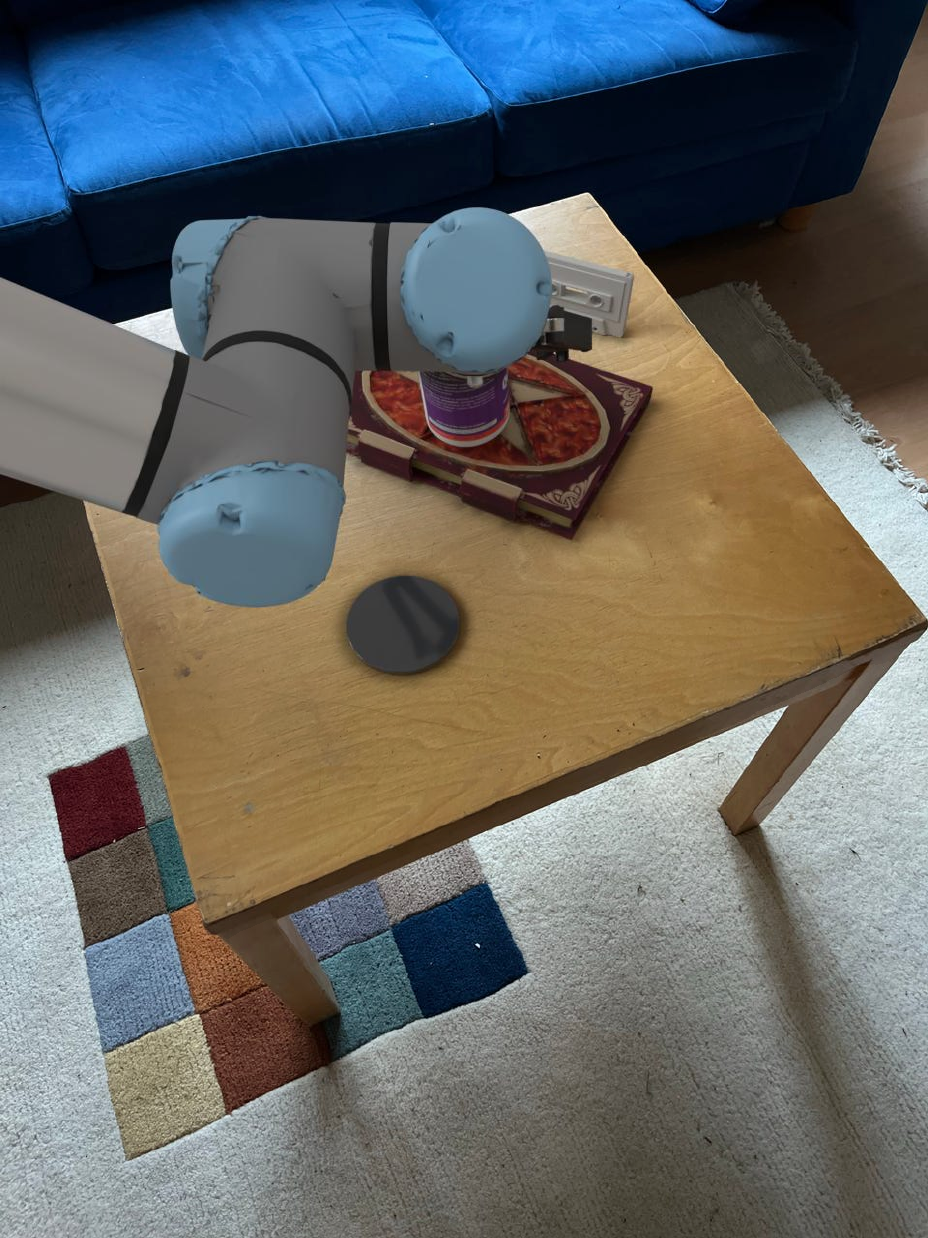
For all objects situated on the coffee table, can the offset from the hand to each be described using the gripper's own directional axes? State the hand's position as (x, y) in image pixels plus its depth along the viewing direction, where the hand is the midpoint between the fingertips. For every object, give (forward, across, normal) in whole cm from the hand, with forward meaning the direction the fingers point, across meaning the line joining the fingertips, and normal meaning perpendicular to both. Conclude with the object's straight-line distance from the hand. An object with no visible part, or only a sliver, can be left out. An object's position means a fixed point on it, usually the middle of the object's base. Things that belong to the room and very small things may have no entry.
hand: (464, 347), depth 77 cm
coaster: (-6, -6, -24) cm, 25 cm away
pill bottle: (+5, 0, -6) cm, 8 cm away
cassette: (+21, +13, +4) cm, 25 cm away
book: (+11, +2, -7) cm, 13 cm away
